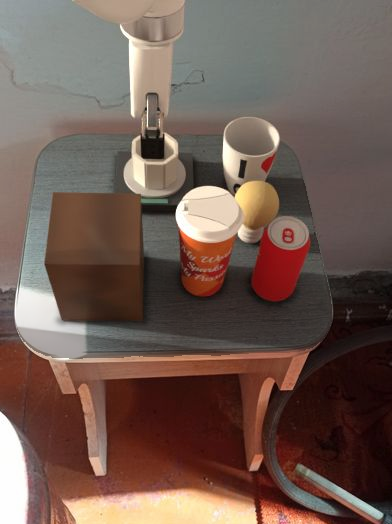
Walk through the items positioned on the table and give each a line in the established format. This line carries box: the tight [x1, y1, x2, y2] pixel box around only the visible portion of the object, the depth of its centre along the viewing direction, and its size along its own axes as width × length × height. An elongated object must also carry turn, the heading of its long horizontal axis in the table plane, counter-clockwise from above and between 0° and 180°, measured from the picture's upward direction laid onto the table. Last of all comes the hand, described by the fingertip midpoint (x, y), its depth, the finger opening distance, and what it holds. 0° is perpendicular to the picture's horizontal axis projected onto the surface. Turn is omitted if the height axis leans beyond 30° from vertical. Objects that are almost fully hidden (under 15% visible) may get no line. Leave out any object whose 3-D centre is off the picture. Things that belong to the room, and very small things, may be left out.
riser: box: [43, 191, 145, 322], centre depth 74 cm, size 11×11×13 cm
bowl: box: [131, 131, 179, 189], centre depth 85 cm, size 7×7×5 cm
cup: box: [222, 116, 281, 197], centre depth 85 cm, size 8×8×10 cm
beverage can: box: [251, 215, 311, 302], centre depth 76 cm, size 6×6×12 cm
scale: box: [114, 150, 195, 213], centre depth 88 cm, size 12×11×2 cm
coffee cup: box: [175, 185, 244, 297], centre depth 74 cm, size 8×8×15 cm
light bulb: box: [234, 181, 280, 244], centre depth 81 cm, size 6×6×10 cm
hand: (153, 132), depth 80 cm, fingers open, 9 cm apart
